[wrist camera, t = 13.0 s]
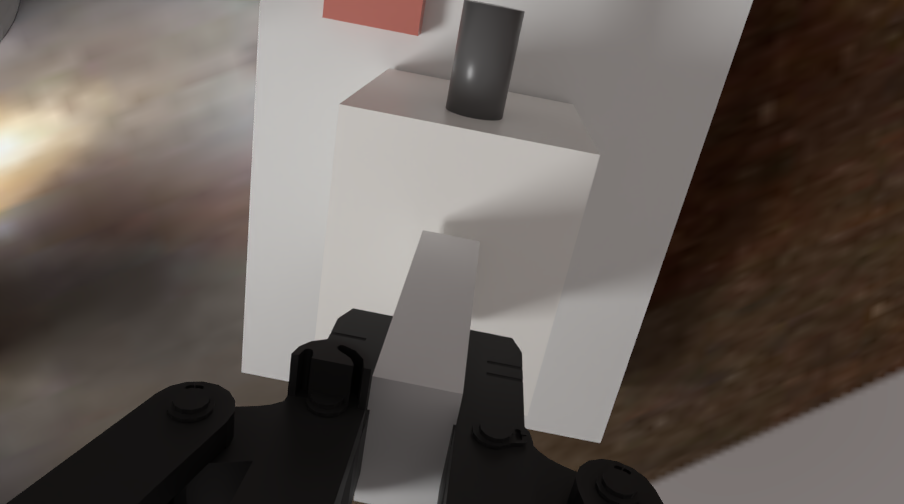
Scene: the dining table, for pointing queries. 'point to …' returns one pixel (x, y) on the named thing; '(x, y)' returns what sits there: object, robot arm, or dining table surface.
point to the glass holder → (7, 15)
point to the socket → (534, 74)
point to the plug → (459, 188)
